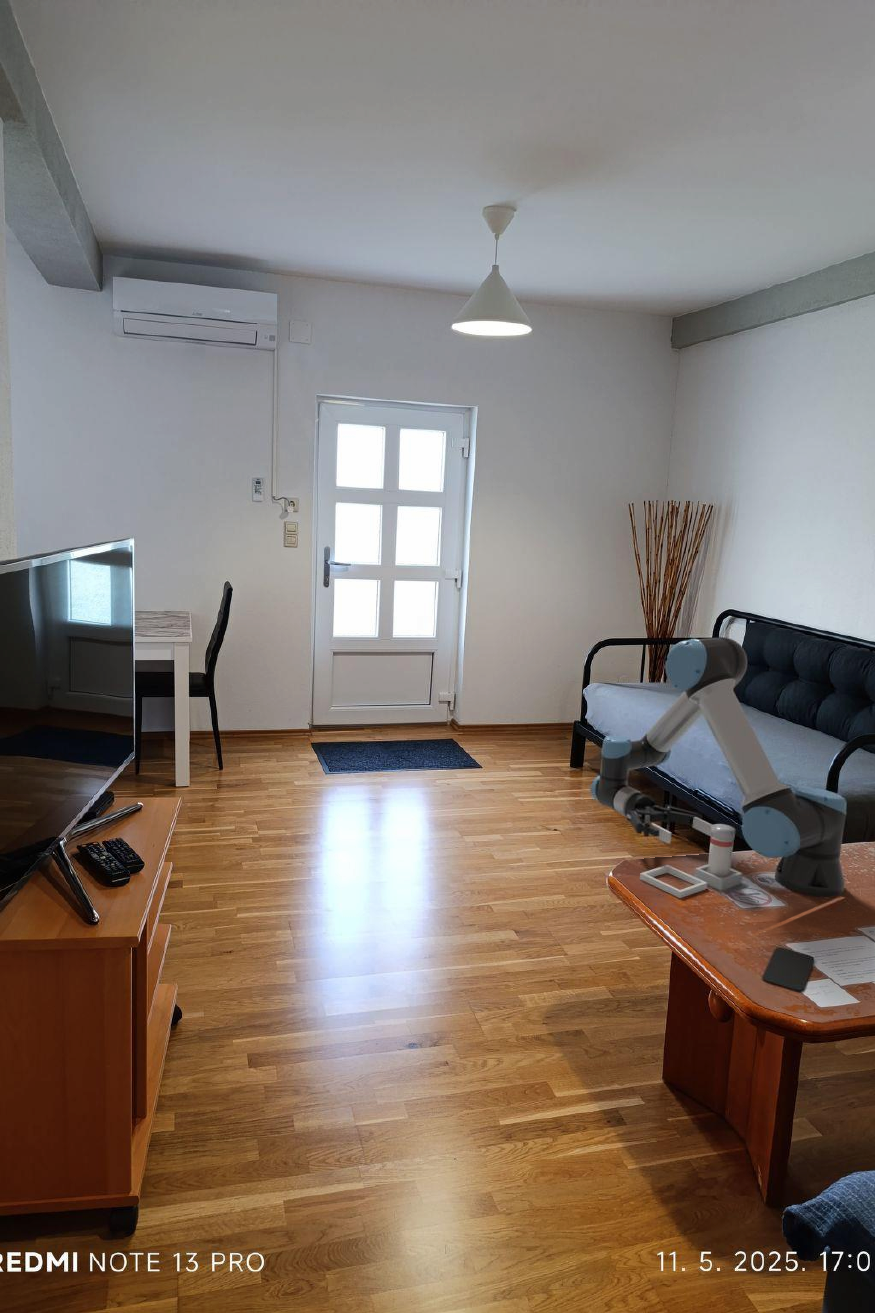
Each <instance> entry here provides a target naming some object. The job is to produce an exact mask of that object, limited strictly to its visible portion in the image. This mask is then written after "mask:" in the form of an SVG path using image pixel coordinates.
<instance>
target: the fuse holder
mask: <svg viewBox="0 0 875 1313" xmlns="http://www.w3.org/2000/svg"><path fill="white" fill-rule="evenodd" d="M707 869H708V863H707V864H704V865H702V866H701V865H700V866H699V867H696V868H694V873H693V874H690V875H691V876H693V877H696V878H698V879H700V880H703V881H705V882H707V883H708V884H707V888H710V889H712V890H715V891H717V892H720V893H722V894H723V895H728V894H731V893H734V892H736V891H738V890H741V889H744V888H747V887H749V886H750V885H749V884H747V883H744V882H743V881H742V880H743V873H742V872H740V871H738V870H736V869H734V868H731V867H730V876H727V877H724V878H720V877H717V876H715V875H713V874H710V873H708V872H707Z"/></svg>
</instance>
